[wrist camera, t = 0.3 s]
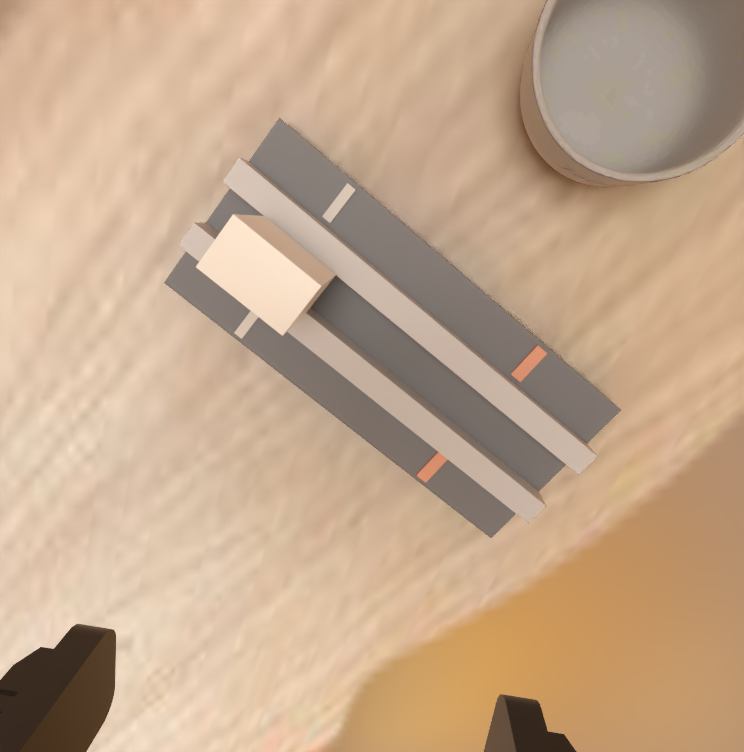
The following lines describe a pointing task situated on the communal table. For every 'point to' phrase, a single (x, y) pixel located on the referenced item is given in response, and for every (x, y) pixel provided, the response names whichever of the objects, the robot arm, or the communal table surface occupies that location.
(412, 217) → the communal table surface
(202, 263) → the fader
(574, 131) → the teacup
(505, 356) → the track
